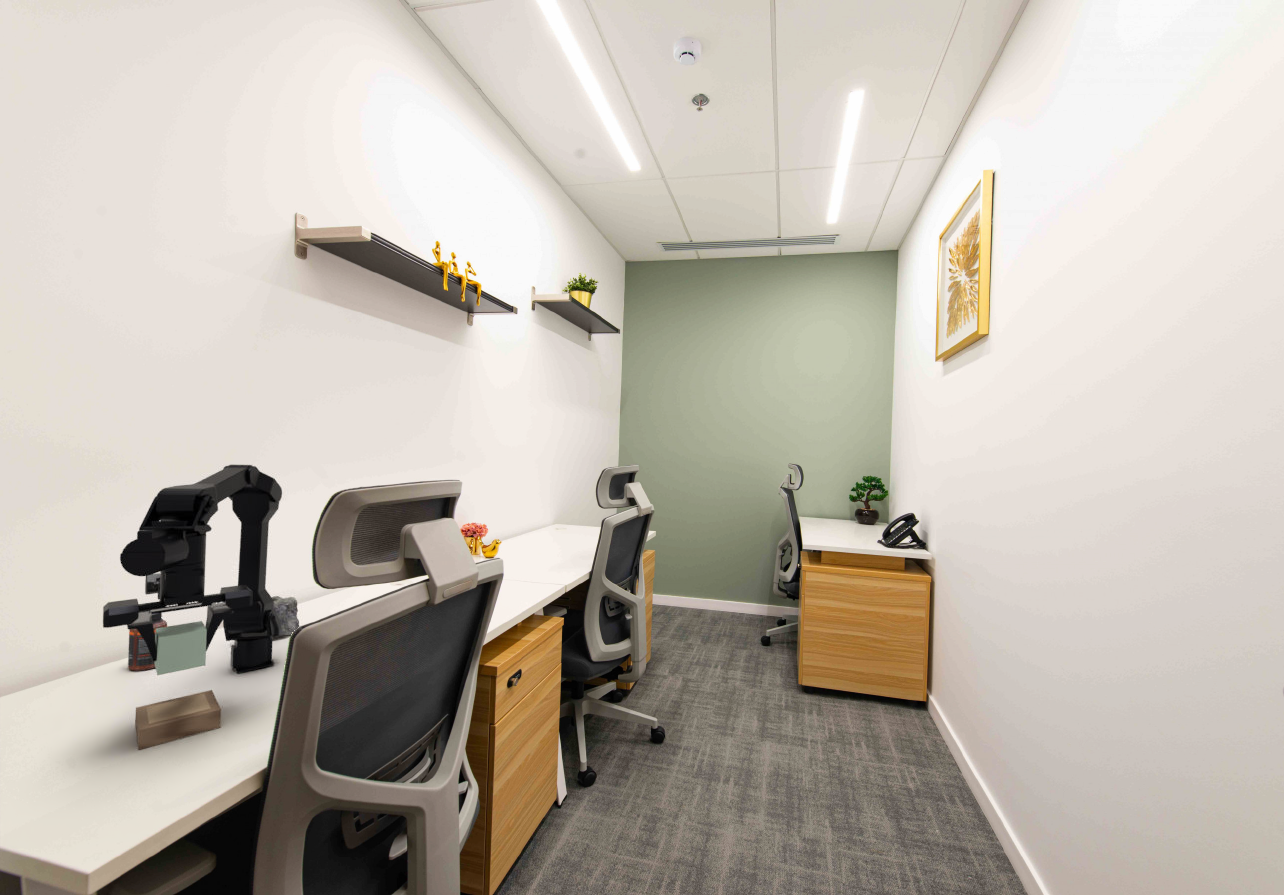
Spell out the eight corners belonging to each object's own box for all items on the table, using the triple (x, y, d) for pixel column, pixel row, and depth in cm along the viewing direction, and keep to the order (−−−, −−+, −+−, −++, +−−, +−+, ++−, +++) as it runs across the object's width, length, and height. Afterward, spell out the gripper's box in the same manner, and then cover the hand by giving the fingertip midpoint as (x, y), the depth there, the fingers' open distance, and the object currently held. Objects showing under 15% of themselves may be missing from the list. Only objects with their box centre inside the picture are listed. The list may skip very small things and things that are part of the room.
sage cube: (200, 655, 94) (201, 620, 94) (205, 665, 90) (206, 629, 90) (154, 664, 90) (155, 628, 90) (157, 675, 86) (158, 637, 86)
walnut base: (211, 706, 97) (211, 689, 97) (220, 727, 90) (220, 708, 90) (135, 725, 90) (135, 706, 90) (138, 749, 83) (139, 729, 83)
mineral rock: (229, 648, 125) (231, 605, 125) (240, 634, 134) (241, 593, 134) (295, 641, 130) (296, 599, 130) (301, 627, 140) (302, 589, 140)
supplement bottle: (172, 663, 115) (173, 610, 115) (136, 673, 109) (138, 618, 110) (157, 658, 117) (159, 606, 118) (121, 668, 112) (123, 614, 112)
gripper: (242, 549, 102) (240, 631, 102) (104, 561, 89) (101, 656, 89) (254, 558, 94) (251, 647, 94) (105, 573, 81) (101, 677, 81)
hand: (180, 655), depth 90 cm, fingers closed on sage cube, 6 cm apart
